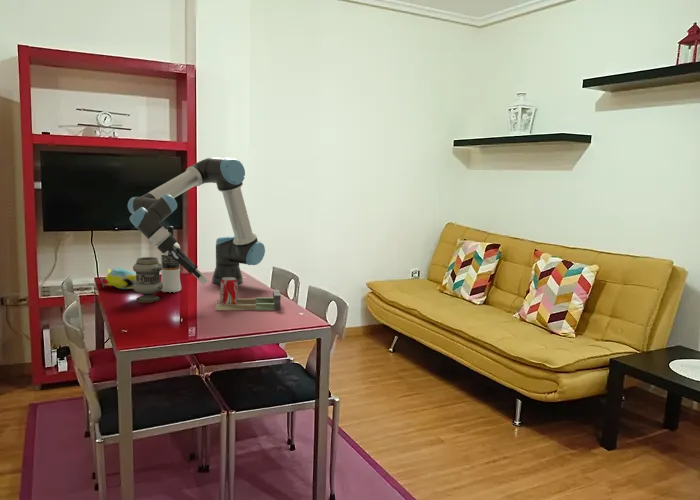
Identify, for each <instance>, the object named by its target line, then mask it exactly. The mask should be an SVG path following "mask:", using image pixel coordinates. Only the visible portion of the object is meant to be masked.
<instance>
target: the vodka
mask: <svg viewBox="0 0 700 500" xmlns="http://www.w3.org/2000/svg"><path fill="white" fill-rule="evenodd" d="M167 231H168V232H169V233H170V234H169V235H172V236H173V237H174V226H172V225H167ZM174 246H176V247H177V248H178V247H179V248H180V249H181V245H180V244H179V243H178V242H176V243H175V244H174ZM160 255H161V258H160V259H161V260H160V261H161V265H162V270H161V271H160V272H161V275H160V282H161V283H162V284H163V289H162V290H161V291H160V292H162V293H166V292H169V293H171V292H173V293H178V292H180V291H181V290H182V284H181V277H180V276H181V275H180V273H181V268H180V267H181V265H180V264H179V263H178V262H177V261H176V260H174V259H173V258H172V256H171V255H170V253H169V251H166V252H165V253H162V252H161V251H160ZM171 294H172V293H171Z"/></svg>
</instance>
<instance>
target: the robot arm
mask: <svg viewBox="0 0 700 500" xmlns="http://www.w3.org/2000/svg"><path fill="white" fill-rule="evenodd" d="M245 176H246V170H245V167H244V165H243V163H242V162H241V161H240V160H238V158H237V159H236V158H232V157H207V158H205V159H202V160H199V161H197V162H196V163H194V164H192V165H190V166H188V167H187V168H186V169H185V171H184V172H182V173H181V174H179V175H177V176H175V177H173V178H172V179H170V180H167V182H165V183H163V184H161V185H159V186H157V187H155V188H154V189H152V190H150V191H149V192H147V193H145V194H143V195H142V196H134V197H133V196H132V197H131V198H130V199H129V200H128V202H127V209H128V212H129V213H130V214H131V215H130V216H129V221H130V223H131V224H132V225H133V226H134V227H135V228H136V229H137V230H138V231H139V232H140V233H141V234H143V236H145V238H146V239H147V240H149V243H150V244H153V245H154V246H155V247H156V246H157V249H158V250H159V251H160V253H161V252H162V253H165V252H166V251H169V253H170V255H171V256H172V258H173V259H174V260H176V261H177V262H178V263H179V264H180V266H182V268H184V270H186V271H187V272H188V274H189V275H191V274H192V275H193V277H195V278H196V279H197V280H198V281H199V282H200V283H201V284H202V285H205V284H206V283H207V282H208V281H209V278H208V277H206V276H205V275H204V273H202V271H201V270H199V269H198V268H199V267H198V265H196V264H195V263H194V262H193V261H192V260H191V259H190V258H189V257H188V256H187V255H186V253H184V252H183V250H182V249H181V247H180V248H179V247H178V248H177V247H176V246H174V244H175V243H178V239H176V238H175V236H174V235H173V236H172V235H169V234H170V233H169V232H168V229H166V228H165V227H164V226H163V225H162V224H161V223H162V222H163V221H164V220H165V219H167V218H168V217H170V215H171V214H173V212H174V211H176V210H177V209H178V202H177V200H176V198H177V197H178V196H180V195H182V194H183V193H185V192H187V191H188V190H190V189H192V188H194V187H200V186H201V185H203V184H204V185H205V184H210V183H211V184H212V183H213V184H216V186H217V187H216V188H217V190H218V191H219V192H221V193H222V197H223V199H224V202H225V206H226V210H227V214H228V217H229V221H230V225H231V228H232V232H233V234H234V235H232V236H221V237H218V238H216V242H215V268H214V271H213V274H212V277H211V283H213V284H219V285H220V283H221V281H222V278H224V277H234V278H236V281H237V284H238V285H239V284H241V283H243V282H244V281H243V280H244V278H243V277H244V276H243V275H242V271H241V268H240V264H241V265H247V266H257V265H259V264H261V262H262V261H263V259H264V257H265V253H266V249H265V248H266V247H265V245H264V244H263V243H262V242H261V241H259V240H258V236H257V234H256V233H253V230H252V227H251V223H250V222H251V221H250V219H249V214H248V211H247V207H246V205H245V200H244V196H243V192H242V188H241V187H242V186H243V185H244V184H243V182H244V180H245V178H246V177H245Z"/></svg>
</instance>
